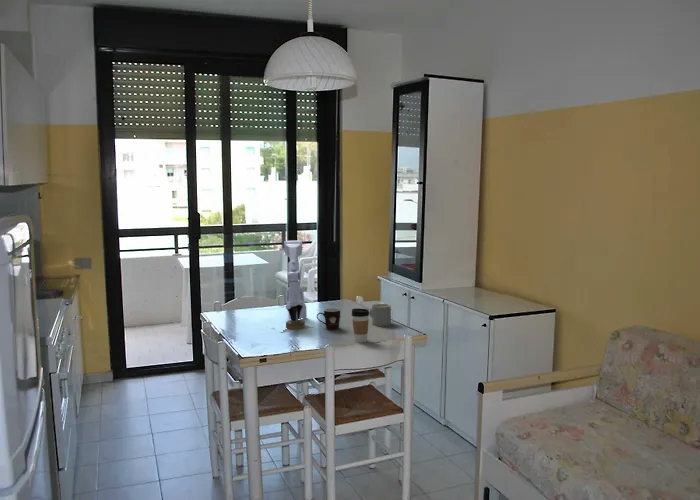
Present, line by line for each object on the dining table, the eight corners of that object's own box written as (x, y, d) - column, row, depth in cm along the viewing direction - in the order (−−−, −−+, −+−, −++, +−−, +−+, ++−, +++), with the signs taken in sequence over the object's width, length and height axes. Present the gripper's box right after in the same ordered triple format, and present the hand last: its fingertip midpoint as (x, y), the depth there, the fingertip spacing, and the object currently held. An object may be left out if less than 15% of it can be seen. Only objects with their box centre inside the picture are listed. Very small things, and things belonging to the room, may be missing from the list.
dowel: (296, 323, 302) (295, 308, 301) (299, 324, 300) (298, 309, 299) (291, 324, 300) (290, 309, 299) (294, 325, 298) (293, 310, 297)
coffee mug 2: (394, 324, 303) (394, 306, 302) (378, 327, 298) (378, 308, 297) (380, 320, 314) (380, 302, 313) (365, 322, 309) (364, 304, 308)
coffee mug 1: (343, 327, 299) (342, 308, 298) (337, 331, 291) (337, 312, 290) (322, 326, 303) (322, 307, 301) (316, 330, 294) (315, 310, 293)
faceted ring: (298, 324, 306) (298, 319, 306) (307, 327, 299) (307, 322, 298) (283, 327, 301) (283, 321, 301) (292, 330, 294) (291, 324, 293)
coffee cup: (351, 338, 276) (350, 307, 274) (368, 337, 277) (368, 307, 275) (352, 343, 268) (352, 311, 266) (370, 342, 268) (370, 310, 267)
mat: (296, 321, 314) (296, 321, 314) (312, 328, 299) (312, 327, 299) (266, 326, 304) (266, 326, 304) (282, 333, 289) (282, 332, 289)
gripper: (294, 291, 306) (295, 316, 308) (280, 296, 293) (281, 322, 295) (306, 292, 303) (307, 317, 305) (292, 297, 290) (293, 323, 292)
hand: (295, 320), depth 300 cm, fingers closed on dowel, 3 cm apart
